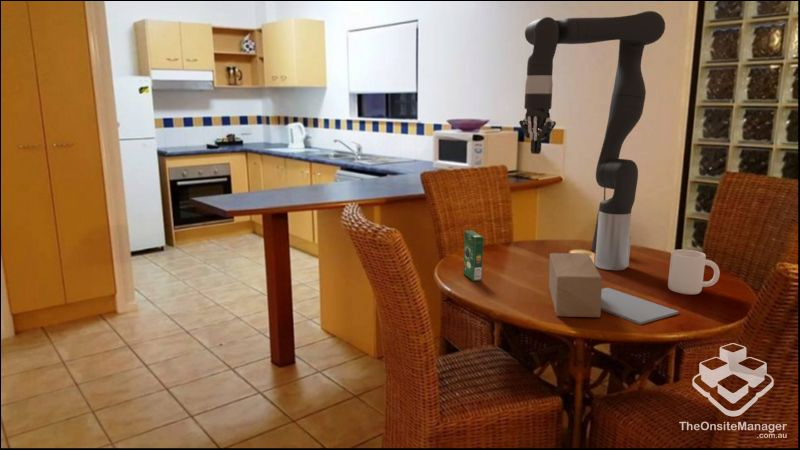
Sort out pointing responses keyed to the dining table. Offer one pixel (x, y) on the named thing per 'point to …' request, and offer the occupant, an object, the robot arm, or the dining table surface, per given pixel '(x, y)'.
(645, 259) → the dining table surface
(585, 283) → the wooden block
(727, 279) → the dining table surface
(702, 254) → the mug
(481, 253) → the coffee box
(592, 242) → the butter churn
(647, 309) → the slate mat
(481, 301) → the dining table surface
